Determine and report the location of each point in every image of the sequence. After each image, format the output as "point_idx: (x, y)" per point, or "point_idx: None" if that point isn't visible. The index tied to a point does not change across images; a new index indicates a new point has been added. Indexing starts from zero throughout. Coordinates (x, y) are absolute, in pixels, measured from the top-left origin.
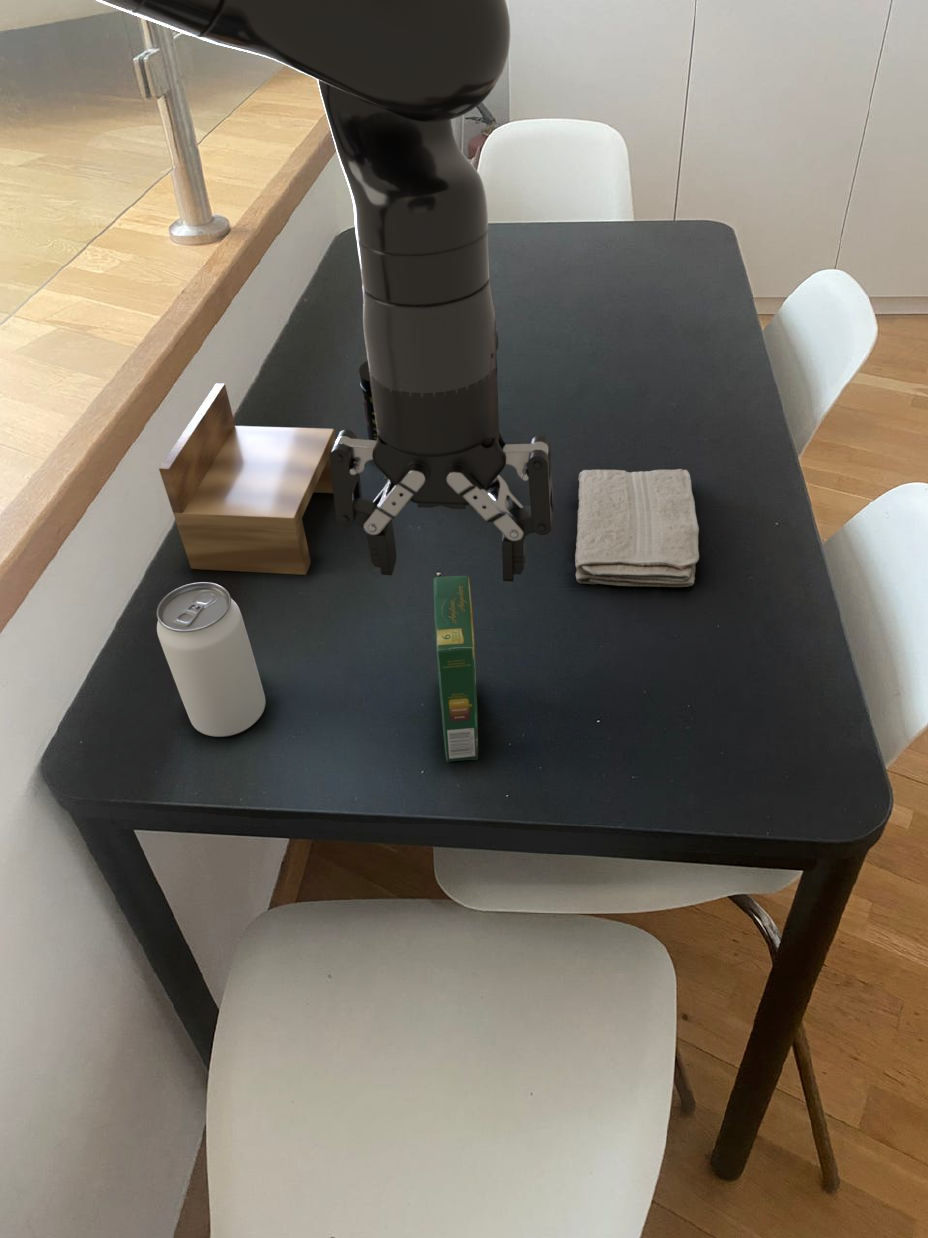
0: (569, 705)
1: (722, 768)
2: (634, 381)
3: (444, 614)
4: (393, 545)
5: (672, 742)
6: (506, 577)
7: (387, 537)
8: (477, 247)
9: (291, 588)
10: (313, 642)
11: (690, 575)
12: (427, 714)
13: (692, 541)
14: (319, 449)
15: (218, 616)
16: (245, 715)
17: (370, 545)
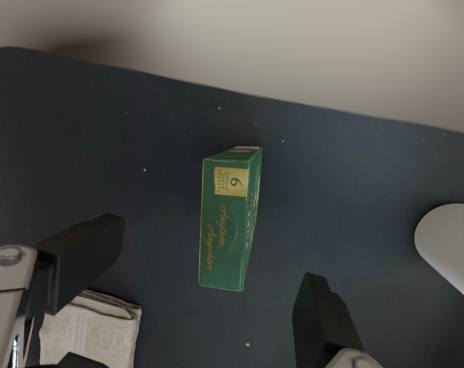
0: (163, 188)
1: (67, 113)
2: None
3: (234, 222)
4: (298, 330)
5: (96, 141)
6: (113, 217)
7: (315, 339)
8: None
9: (376, 360)
10: (362, 295)
11: None
12: (272, 199)
13: (46, 321)
14: None
15: None
16: (442, 214)
17: (353, 332)
